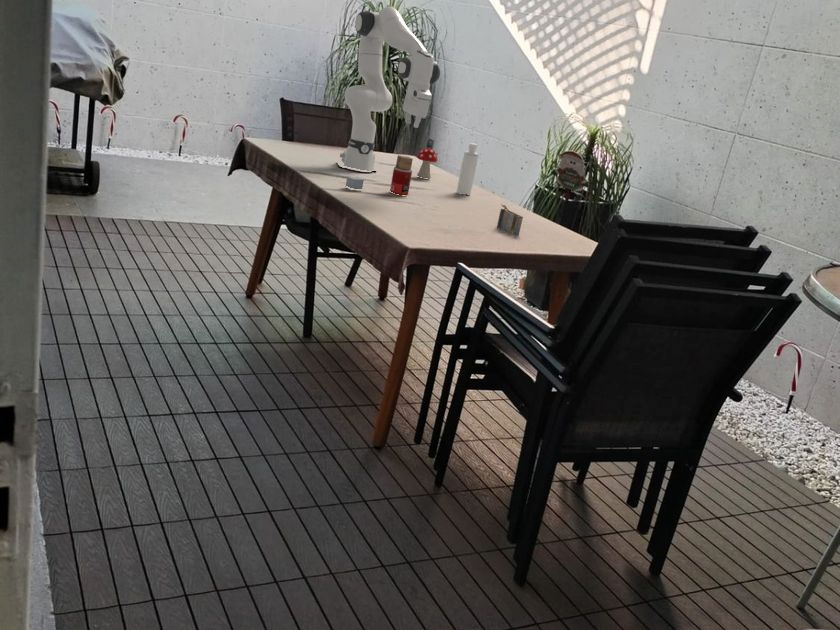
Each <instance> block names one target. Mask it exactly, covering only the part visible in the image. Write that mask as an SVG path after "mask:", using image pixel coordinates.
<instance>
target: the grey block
mask: <svg viewBox="0 0 840 630" xmlns="http://www.w3.org/2000/svg"><path fill="white" fill-rule="evenodd" d="M364 182H365V180H364V179H363V178H360V177H358V176H346V182H345V187H346V186H348V187H350V188H354V189H362V190H363V186H364Z"/></svg>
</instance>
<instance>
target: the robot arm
mask: <svg viewBox="0 0 840 630" xmlns="http://www.w3.org/2000/svg"><path fill="white" fill-rule="evenodd" d="M405 22H406V21H405V20H404V18H403V16H402V15H401V13H399V11H398V10H397V9H396V8H395V7H394V6H385V7H382V9H380V11H368V10H364V11H360V12H359V13H358V14H357V15H356V17H355V21H354V24H355V25H354V27H355V31H356V32H357V34H358V35H360V39H359V44H358V57H357V58H358V60H357V61H358V62H357V63H358V64H357V72H358V74H359V76H361V78H362V79H363V82H364V84H365V85H362V84H361V85H359V84H358V85H352V86H349V87H348V88H347V89H346V91H345V93H344V100H345V104H346V106H348V107H349V109H350V112H351V116H352V127H351V134H350V138H349V141H348V144H347V145H348V146H347V147H346V148H345V150H344V151H343V152H340V154H339V158H341V161H342V162H343V163H344V166H347V167H351V168H356V169H360V170H367V171H372V170H374V169H375V164H376V163H375V162H376V153H374V150H375V145H376V144H375V138H376V133H377V132H376V131H377V125H376V122H374V121H373V119H372V115H371V114H372V113H371V112H378V113H380V112H381V113H382V112H386V111H388V110H390V109H391V107H392V105H393V95H392V93H391V91H389V90H388V88H387V86H386V84H385V81H384V76H383V44H384V42H385V43H386V44H387V45H389V46H390V47H391V48H394V49H396V50H399V51H403V52H405V53H408V54H409V55H408V56H404V57H402V58H401V59H400V60H399V62H398V64H397V69H396V70H397V74H398V76H399V78H400V79H402V80H403V81H407V82H408V85H407V89H406V90H407V91H406V94H405V96H404V101H403V105H402V111H404V112H405V124H407V125H411V122H412V116H414V117H415V118H414V119H415V120H414V122H413V128H417V129H418V128H419V127H420V126H419V125H420V123H421V121H422V119H426V117H427V116H428V113H429V108H430V103H431V102H430V101H431V100H432V99H433V95H432V93H431V91H430V88H431V86H433V85H434V84H435V83H436V82H437V81H439V78H440V77H441V68H440V65H439V64H438V62H437V61H435V59H434V55H433V54H432V53H431V52H428V50H427V49H426V47H425V46H424V44H423V43H422V41H421V40H420V39H419V38H418V37H417V36H416V35H415V34H414V33H413V32H412V31H411V30H410V28H409V27H408V26H407V24H406V23H405Z"/></svg>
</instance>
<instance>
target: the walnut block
mask: <svg viewBox="0 0 840 630" xmlns="http://www.w3.org/2000/svg"><path fill="white" fill-rule="evenodd" d="M396 157H397V159H396V163H395V167H397V168H399V169H402V170H410V171H411V170H412V165H413V159H414V158H412V157H410V156H409V155H408V156H407V155H400V154H398V155H397V156H396Z"/></svg>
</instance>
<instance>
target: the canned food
mask: <svg viewBox="0 0 840 630" xmlns="http://www.w3.org/2000/svg"><path fill="white" fill-rule="evenodd" d="M412 176H413V170H412V169H411V171H410V170H402V169H399V168H397V167H396V166H394V167H393V171H392V176H391V177H392V178H391V182H390V189H389V191H391V192H393V193H395V194H399V195H407V196H408V195H409V191H410V185H411V180H412ZM395 194H394V195H395ZM399 195H398V196H399Z"/></svg>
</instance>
